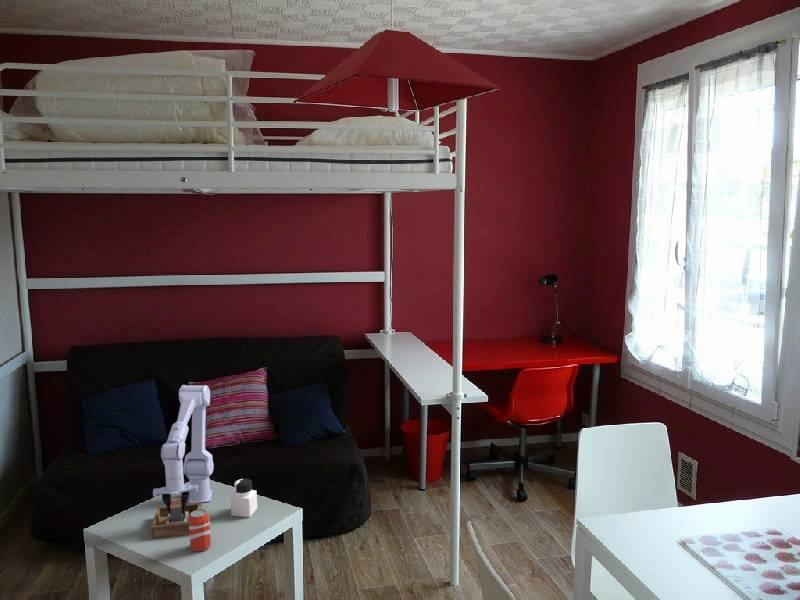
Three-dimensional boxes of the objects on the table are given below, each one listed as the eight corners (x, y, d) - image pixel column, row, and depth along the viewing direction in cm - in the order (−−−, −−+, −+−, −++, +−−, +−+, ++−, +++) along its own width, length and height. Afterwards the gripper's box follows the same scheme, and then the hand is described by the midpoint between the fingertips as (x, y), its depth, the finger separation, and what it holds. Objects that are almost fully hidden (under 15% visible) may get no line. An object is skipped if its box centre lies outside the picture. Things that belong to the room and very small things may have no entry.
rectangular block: (173, 517, 233) (171, 499, 232) (183, 516, 233) (182, 498, 232) (171, 524, 228) (170, 505, 227) (182, 523, 229) (180, 504, 227)
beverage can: (205, 540, 221) (202, 506, 219) (214, 547, 216) (212, 513, 214) (187, 547, 217) (185, 512, 215) (196, 554, 212) (194, 519, 210)
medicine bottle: (257, 508, 243) (256, 477, 241) (250, 517, 236) (248, 485, 234) (239, 507, 244) (237, 476, 242) (231, 516, 237) (229, 484, 235)
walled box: (158, 517, 237) (157, 507, 236) (202, 513, 240) (201, 502, 239) (151, 538, 222) (151, 527, 222) (198, 533, 225) (197, 522, 225)
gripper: (150, 482, 223) (153, 520, 225) (195, 478, 226) (197, 516, 228) (153, 474, 230) (156, 511, 232) (197, 470, 232) (199, 506, 235)
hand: (177, 513), depth 230 cm, fingers closed on rectangular block, 3 cm apart
